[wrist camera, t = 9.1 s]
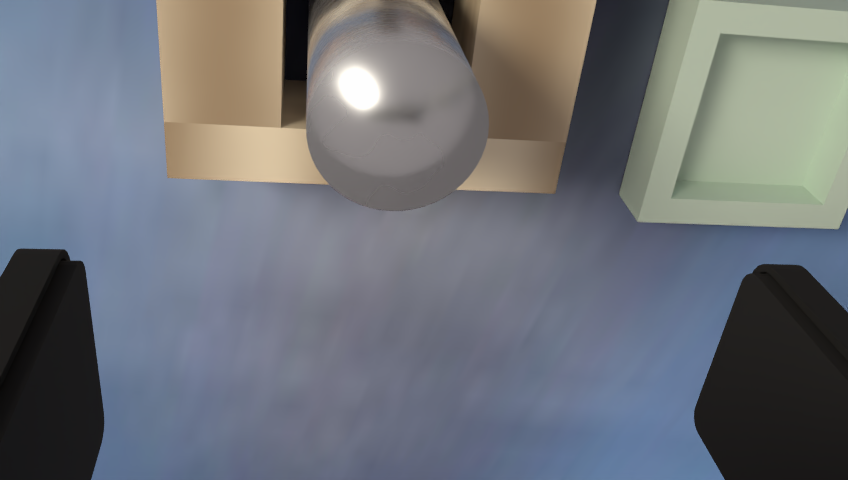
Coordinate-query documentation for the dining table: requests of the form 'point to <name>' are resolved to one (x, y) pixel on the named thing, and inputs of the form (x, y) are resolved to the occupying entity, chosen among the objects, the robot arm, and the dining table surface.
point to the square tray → (744, 117)
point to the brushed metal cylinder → (391, 102)
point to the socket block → (286, 99)
